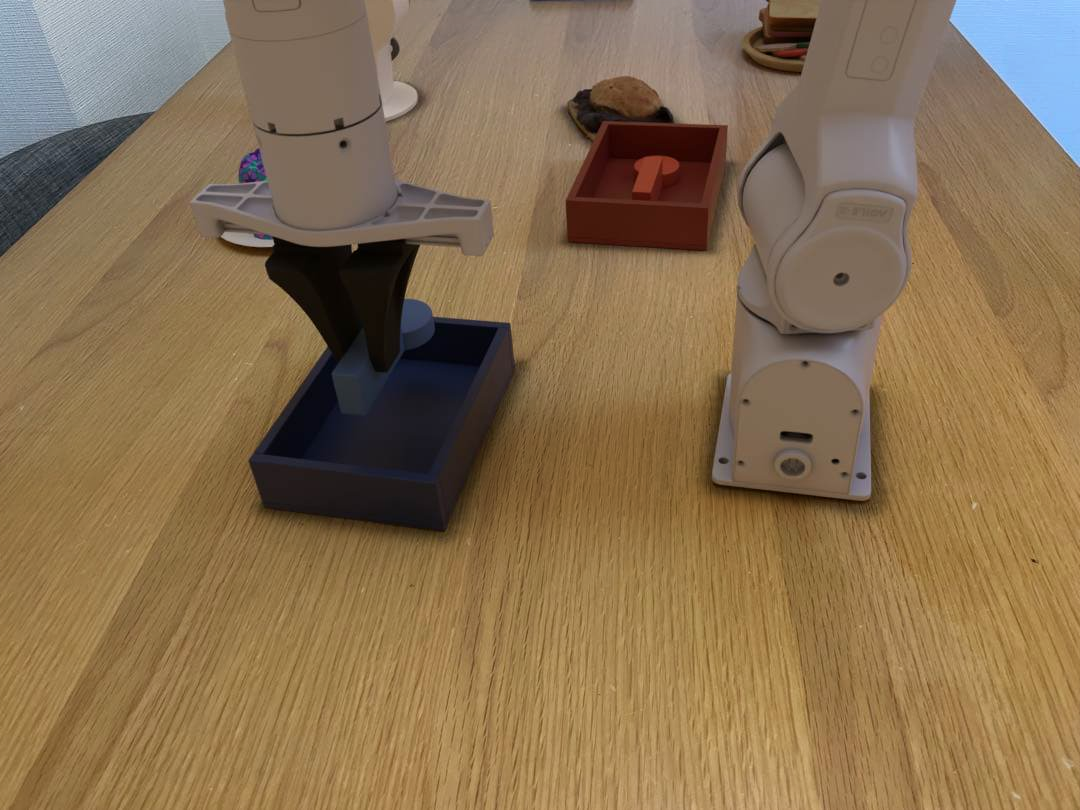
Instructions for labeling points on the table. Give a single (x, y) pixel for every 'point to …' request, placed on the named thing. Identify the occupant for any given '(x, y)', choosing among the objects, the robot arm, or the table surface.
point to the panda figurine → (389, 54)
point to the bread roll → (617, 104)
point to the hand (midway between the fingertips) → (370, 359)
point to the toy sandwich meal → (783, 34)
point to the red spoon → (654, 176)
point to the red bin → (682, 209)
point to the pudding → (249, 173)
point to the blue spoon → (356, 370)
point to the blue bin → (390, 433)
